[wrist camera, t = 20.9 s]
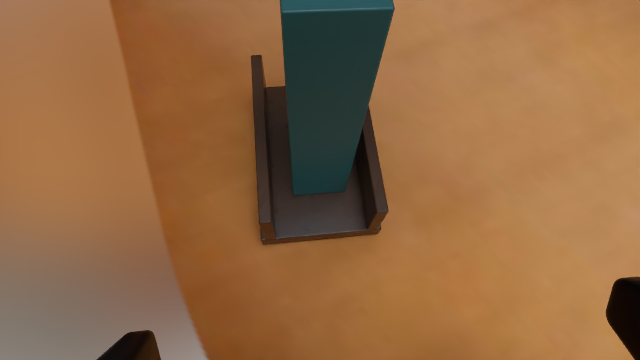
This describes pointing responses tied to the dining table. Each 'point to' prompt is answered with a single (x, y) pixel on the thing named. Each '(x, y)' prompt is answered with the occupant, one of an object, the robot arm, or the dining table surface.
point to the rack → (309, 209)
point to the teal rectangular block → (329, 84)
